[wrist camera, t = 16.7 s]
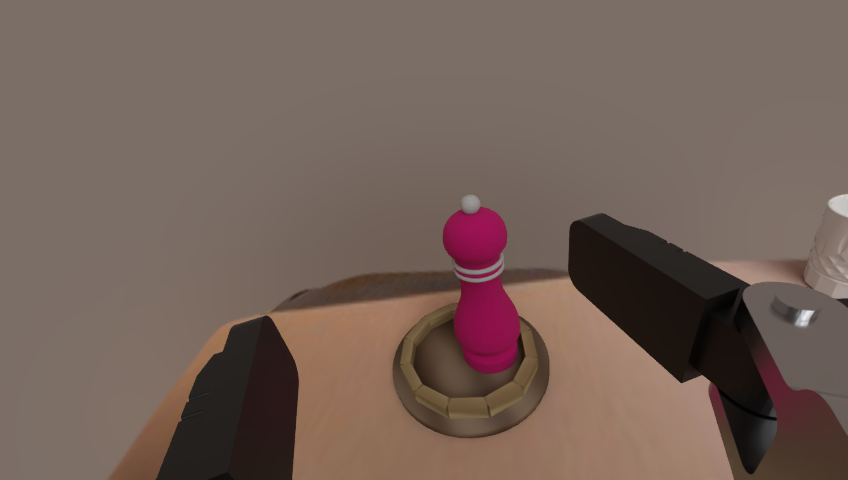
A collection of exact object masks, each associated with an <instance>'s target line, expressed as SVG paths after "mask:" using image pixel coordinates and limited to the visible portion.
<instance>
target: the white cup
mask: <svg viewBox="0 0 848 480" xmlns="http://www.w3.org/2000/svg"><path fill="white" fill-rule="evenodd" d="M803 276H804V280H805V282H806V283H807V284H808V285H809V286H810V287H812V288H813V289H814V290H817V291H819V292H822V293H824V294H826V295H828V296H830V297H832V298H835V299H842V298H848V194H843V195H839V196H836V197H833V198H831V199H830V200H829V201H828V203H827V206H826V208H825V211H824V214H823V217H822V219H821V222H820V225H819V228H818V230H817V233H816V236H815V238H814V242H813V246H812V249H811V251H810V254H809V260H808V263H807V265H806V268H805V270H804V273H803Z"/></svg>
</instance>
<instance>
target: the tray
mask: <svg viewBox="0 0 848 480" xmlns="http://www.w3.org/2000/svg"><path fill="white" fill-rule="evenodd" d="M457 305H458V303H456V304H451V306H450V305H447V306H445V307H443V308H441V309H438V310H436V311H434V312H432V313H430V314H428V315H426V316H424V317H425V318H422V319H421V320H420V321H419V322H418V323H417V324H416V325H415V326H414V327H413V328H412V329H411V330H410V331H409V332H408V333H407V334H406V335H405V337H404V338H403V340H402V341H401V343H400V345H399V347H398V349H397V351H396V354H395V358H394V363H393V379H394V384H395V387H396V390H397V393H398V395H399V398H400V400H401V402H402V404H403V405H404V407H405V408H406V410H407V411H408V412H409V413H410V414H411V415H412V416H413V417H414V418H415V419H416V420H417V421H418V422H420V423H421V424H423V425H424V426H426V427H427V428H429V429H431V430H433V431H435V432H438V433H441V434H444V435H447V436H453V437H458V438H479V437H486V436H491V435H495V434H498V433H501V432H504V431H506V430H508V429H510V428H512V427H514V426H516V425H518V424H519V423H520V422H522V421H523V420H524V419H526V418H527V417H528V416H529V415H530V414H531V413H532V412H533V411H534V410H535V409H536V407H537V406H538V405H539V403H540V402H541V400H542V398H543V396H544V394H545V392H546V389H547V386H548V381H549V356H548V351H547V349H546V346H545V343H544V341H543V339H542V338H541V336H540V335H539V333H538V332H537V331H536V329H535V328H534V327H533V326H532V325H531V324H530V323H529V322H527V321H526V320H525V319H523V318H522V317H520V316H519V315H518V316H519V320H520V334H519V336H518V339H517V349H518V354H517V358H516V360H515V362H514V363H513V365H512V366H510V367H509V368H508V369H506V370H504V371H502V372H499V373H493V374H490V373H482V372H479V371H477V370H475V369H473V368H472V367H470V366H469V365H468V363H467V362H466V360H465V358H464V355H463V349H462V345H461V344H460V342H459V341H458V340H457V337H456V335H455V331H454V316H455V311H456V308H457Z"/></svg>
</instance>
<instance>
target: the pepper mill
mask: <svg viewBox="0 0 848 480" xmlns="http://www.w3.org/2000/svg"><path fill="white" fill-rule="evenodd" d="M460 206H461V209H462V210H459V211H457V212H456V213H454V214H453V215H452V216H451V217H450V218H449V219H448V221H447V222H446V224H445V226H444V229H443V244H444V247H445V250H446V251H447V253H448V254H449V255H450V256H451V257H452V264H453V266H454V267H453V270H454V273H455V275H456V276H457V277H458V278H460V282H461V298H460V301H459V303H458V305H457V308H456V311H455V316H454V331H455V335H456V337H457V340H458V341H459V342H460V344H461V345H462V349H463V355H464V358H465V360H466V362H467V363H468V365H469V366H470V367H472V368H473V369H475V370H477V371H479V372H482V373H490V374H493V373H499V372H502V371H504V370H506V369H508V368H509V367H510V366H512V365H513V363H514V362H515V360H516V358H517V354H518V349H517V339H518V336H519V334H520V320H519V316H518V312H517V310H516V308H515V306H514V304H513V302H512V301H511V300H510V298H509V297H508V295H507V294H506V292H505V290H504V289H503V286H502V283H501V278H500V274H501V273H502V271H503V269H504V261H503V259H504V255H503V253H502V250H503V249H504V248H505V246H506V243H507V230H506V226H505V224H504V221H503V220H502V219H501V217H500V216H499V215H498V214H497V213H496V212H494V211H492V210H490V209H488V208H484V207H480V201H479V199H478V198H477V197H476V196H474V195H467V196H465V197H464V198H463V199H462V201H461V204H460Z"/></svg>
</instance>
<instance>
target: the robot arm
mask: <svg viewBox="0 0 848 480" xmlns="http://www.w3.org/2000/svg"><path fill="white" fill-rule="evenodd" d="M568 271H569V276H570V279H571V281H572V283H573V285H574V286H575V287H576V289H577V290H578V291H579V292H580V293H582V294H583V295H584V296H585V297H586V298H587V299H588V300H589V301H590V302H592V303H593V304H594V305H595V306H596V307H597V308H598V309H599V310H600V311H602V312H603V313H604V314H605V315H606V316H607V317H608V318H609V319H610V320H612V321H613V322H614V323H615V324H616V325H617V326H618V327H619V328H620V329H622V330H623V331H624V332H625V333H626V334H627V335H628V336H629V337H630V338H632V339H633V340H634V341H635V342H636V343H637V344H638V345H639V346H640V347H642V348H643V349H644V350H645V351H646V352H647V353H648V354H649V355H650V356H652V357H653V358H654V359H655V360H656V361H657V362H658V363H659V364H660V365H662V366H663V367H664V368H665V369H666V370H667V371H668V372H669V373H670V374H672V375H673V376H674V377H675V378H676V379H677V380H678V381H679V382H680V383H683V382H686V381H688V380H691V379H693V378H696V377H698V376H701V375H703V376H704V377H706V378H707V379H708V380H709V381H711V382H710V384H709V389H708V392H709V397H710V400H711V403H712V407H713V410H714V413H715V417H716V420H717V423H718V427H719V430H720V433H721V437H722V440H723V443H724V447H725V450H726V453H727V457H728V460H729V463H730V467H731V470H732V473H733V477H734V480H848V298H842V299H834V298H832V297H830V296H828V295H826V294H824V293H822V292H819V291H817V290H814V289H811V288H808V287H804V286H800V285H796V284H790V283H783V282H761V283H756V284H753V285H750V284H748V283H746V282H744V281H742V280H740V279H738V278H736V277H735V276H733V275H731V274H729V273H727V272H725V271H723V270H721V269H719V268H717V267H715V266H714V265H712V264H710V263H708V262H706V261H704V260H702V259H700V258H698V257H696V256H695V255H693V254H691V253H689V252H683V249H681V248H679V247H677V246H676V245H674V244H672V243H669V244H668V243H667V241H666V240H664V239H662V238H660V237H658V236H656V235H655V234H653V233H651V232H649V231H646V230H642V229H638V228H635V227H631V226H628V225H624V224H622V223H620V222H619V221H617V220H615V219H613V218H611V217H610V216H608V215H606V214H603V213H600V214H596V215H593V216H590V217H587V218H583V219H580V220H577V221H574V222H573V223H572V224H571V226H570V232H569V261H568ZM298 387H299V378H298V371H297V367H296V364H295V361H294V359H293V357H292V355H291V353H290V351H289V349H288V347H287V346H286V344H285V342H284V340H283V338H282V337H281V335H280V333H279V331H278V329H277V327H276V326H275V324H274V322H273V320H272V319H271V318H270V317H269V316H263V317H260V318H257V319H253V320H250V321H247V322H244V323H240V324H237V325H234V326H233V327H232V328H231V330H230V332H229V335H228V338H227V341H226V344H225V347H224V350H223V352H221V353H217V354H214V355H213V356H212V358H211V359H210V360H209V361H208V363H207V364H206V365H205V366H204V368H203V369H202V370H201V371H200V373H199V374H198V375H197V377H196V380H195V382H194V385H193V387H192V390H191V392H190V395H189V397H188V398H189V402H187V403H186V405H185V408H184V410H183V413H182V415H181V419H182V420H181V422H179V423H178V425H177V428H176V430H175V433H174V435H173V438H172V441H171V443H170V446H169V448H168V451H167V453H166V456H165V458H164V461H163V463H162V466H161V468H160V471H159V474H158V476H157V479H156V480H292V472H293V458H294V444H295V430H296V416H297V402H298Z"/></svg>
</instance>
